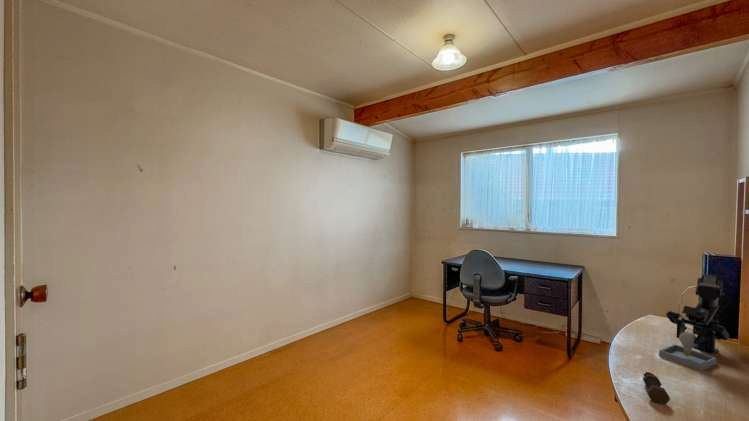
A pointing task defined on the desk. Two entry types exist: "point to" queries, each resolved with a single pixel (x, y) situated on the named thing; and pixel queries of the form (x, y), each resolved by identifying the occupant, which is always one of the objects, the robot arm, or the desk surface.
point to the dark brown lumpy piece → (655, 389)
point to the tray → (688, 357)
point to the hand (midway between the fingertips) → (685, 340)
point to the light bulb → (687, 342)
